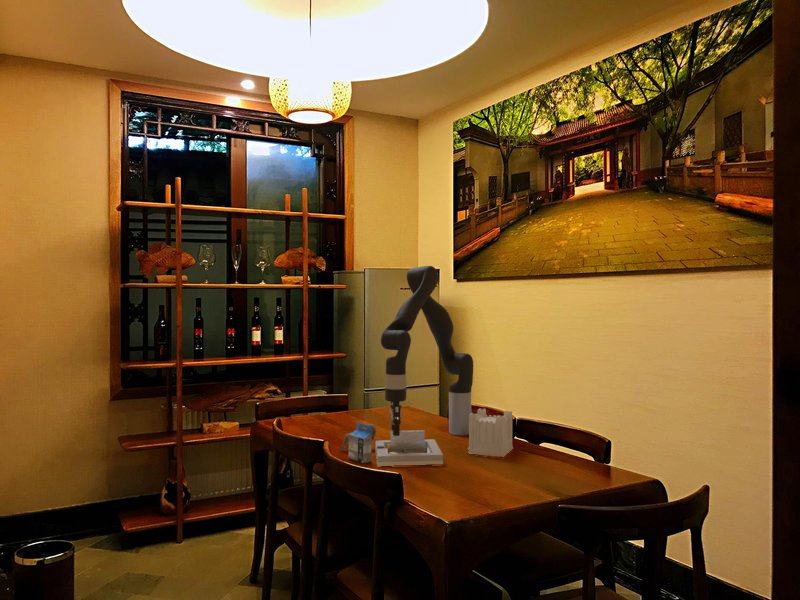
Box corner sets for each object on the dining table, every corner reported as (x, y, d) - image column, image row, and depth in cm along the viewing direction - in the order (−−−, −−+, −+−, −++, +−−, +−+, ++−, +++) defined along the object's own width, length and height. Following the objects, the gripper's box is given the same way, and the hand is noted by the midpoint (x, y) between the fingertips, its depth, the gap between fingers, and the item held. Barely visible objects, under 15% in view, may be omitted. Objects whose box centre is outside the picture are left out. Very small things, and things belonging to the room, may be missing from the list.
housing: (434, 448, 223) (434, 437, 223) (443, 465, 201) (443, 453, 201) (375, 450, 221) (375, 438, 221) (377, 466, 199) (377, 454, 199)
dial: (424, 447, 219) (424, 426, 219) (429, 457, 205) (429, 435, 205) (386, 447, 218) (386, 427, 218) (388, 458, 204) (388, 436, 204)
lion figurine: (372, 446, 227) (372, 422, 227) (379, 449, 222) (379, 425, 222) (337, 451, 220) (337, 427, 220) (343, 454, 215) (343, 429, 215)
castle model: (503, 458, 209) (503, 417, 209) (462, 453, 216) (462, 414, 216) (512, 449, 221) (512, 411, 221) (473, 445, 227) (473, 407, 227)
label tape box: (347, 458, 210) (347, 423, 210) (357, 456, 213) (357, 421, 213) (362, 463, 203) (362, 427, 203) (372, 461, 206) (372, 425, 206)
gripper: (408, 389, 204) (407, 437, 204) (404, 384, 218) (404, 428, 218) (386, 389, 203) (385, 437, 203) (384, 384, 218) (383, 428, 218)
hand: (395, 432), depth 211 cm, fingers open, 8 cm apart
